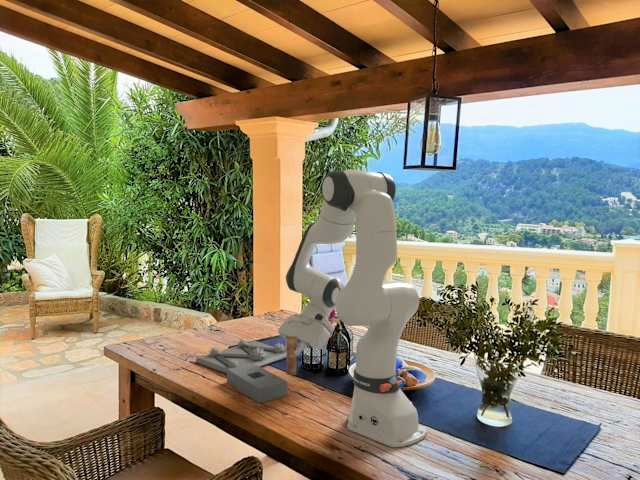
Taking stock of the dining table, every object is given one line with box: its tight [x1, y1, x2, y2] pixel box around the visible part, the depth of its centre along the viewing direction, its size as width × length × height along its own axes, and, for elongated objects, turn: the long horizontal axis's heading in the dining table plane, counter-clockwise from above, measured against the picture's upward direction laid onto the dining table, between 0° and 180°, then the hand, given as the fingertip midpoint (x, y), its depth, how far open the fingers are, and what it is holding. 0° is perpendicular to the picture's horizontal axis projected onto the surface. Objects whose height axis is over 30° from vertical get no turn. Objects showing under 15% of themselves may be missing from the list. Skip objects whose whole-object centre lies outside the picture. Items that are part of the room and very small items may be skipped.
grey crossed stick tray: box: [195, 338, 287, 375], centre depth 189 cm, size 30×22×7 cm
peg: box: [286, 337, 298, 376], centre depth 167 cm, size 3×3×12 cm
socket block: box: [226, 363, 288, 404], centre depth 162 cm, size 20×10×4 cm, turn 39°
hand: (290, 352), depth 166 cm, fingers closed on peg, 3 cm apart
